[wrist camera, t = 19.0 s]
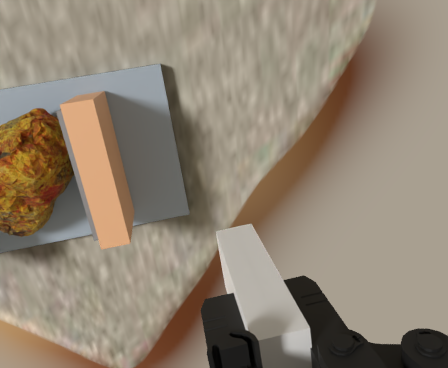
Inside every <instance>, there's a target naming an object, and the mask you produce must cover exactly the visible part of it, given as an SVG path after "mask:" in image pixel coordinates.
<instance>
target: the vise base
mask: <svg viewBox="0 0 448 368" xmlns="http://www.w3.org/2000/svg"><path fill="white" fill-rule="evenodd" d="M101 91H105V94H106V98H107V102H108V106H109V110H110V114H111V118H112V123H113V127H114V131H115V135H116V139H117V143H118V147H119V151H120V155H121V159H122V163H123V167H124V171H125V175H126V179H127V183H128V187H129V191H130V195H131V199H132V203H133V207H134V211H135V213H134V220H133V226H135V225H140V224H145V223H149V222H154V221H159V220H164V219H169V218H174V217H179V216H184V215H189V214H190V213H189V208H188V203H187V198H186V193H185V188H184V183H183V178H182V173H181V167H180V162H179V157H178V152H177V147H176V142H175V137H174V132H173V127H172V122H171V116H170V111H169V106H168V101H167V96H166V91H165V86H164V81H163V76H162V71H161V65H160V64H155V65H149V66H143V67H137V68H131V69H124V70H118V71H112V72H106V73H100V74H94V75H87V76H81V77H75V78H69V79H63V80H57V81H50V82H44V83H38V84H32V85H26V86H20V87H13V88H7V89H1V90H0V126H1V125H2V124H5V123H7V122H8V121H10V120H13V119H16V118H18V117H20V116H21V115H24V114H26V113H28V112H30V111H31V110H33V109H35V108H43V109H45V110H46V111H47V112H48V113H49V114H51V115H53V116H54V117H57V118H58V116H57V113H56V111H58V110H59V109H61V108H60V104H62V103H64V102H66V101H68V100H70V99H71V98H73V97H75V96H77V95H83V94H89V93H95V92H101ZM91 234H92V232H91V229H90V225H89V222H88V218H87V215H86V212H85V208H84V205H83V201H82V198H81V195H80V191H79V188H78V184H77V181H76V178H75V175H74V176H73V177H72V179H71V181H70V182H69V184H68V186H67V188H66V189H65V191H64V192H63V193H62V194H61V195H59V196H58V197H57V199H56V201H55V203H54V208H53V212H52V215H51V217H50V218H49V220H48V221H47V223H46V224H45V225H44V226H43V228H41V229H39V230H38V231H36V232H35V233H34V234H32V235H29V236H23V237H20V236H15V235H10V236H9V234H8V233H3V232H2V231H0V253H3V252H8V251H13V250H18V249H22V248H27V247H32V246H37V245H42V244H47V243H52V242H57V241H62V240H66V239H71V238H76V237H81V236H86V235H91Z"/></svg>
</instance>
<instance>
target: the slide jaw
mask: <svg viewBox="0 0 448 368" xmlns="http://www.w3.org/2000/svg"><path fill="white" fill-rule="evenodd" d="M60 108H61V109H59V110H58V111H56V113H57V116H58V120H59V123H60V126H61V130H62V133H63V137H64V140H65V143H66V147H67V150H68V154H69V157H70V161H71V164H72V167H73V171H74V174H75V178H76V181H77V184H78V188H79V191H80V195H81V198H82V201H83V205H84V208H85V212H86V215H87V218H88V222H89V225H90V229H91V232H92V236H93V239H94V241H96V240H99V243H100V247H101V249H106V248H111V247H115V246H120V245H125V244H130V242H131V235H132V227H133V220H134V213H135V211H134V207H133V203H132V199H131V195H130V191H129V187H128V183H127V179H126V175H125V171H124V167H123V163H122V159H121V155H120V151H119V147H118V143H117V139H116V135H115V131H114V127H113V123H112V118H111V114H110V110H109V106H108V102H107V98H106V94H105V91H101V92H95V93H89V94H83V95H77V96H75V97H73V98H71V99H70V100H68V101H66V102H64V103H62V104H60Z"/></svg>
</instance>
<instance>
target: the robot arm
mask: <svg viewBox="0 0 448 368" xmlns="http://www.w3.org/2000/svg"><path fill="white" fill-rule="evenodd" d="M216 236H217V241H218V247H219V253H220V258H221V264H222V270H223V276H224V281H225V287H226V291H227V294H226V295H222V296H217V297H213V298H209V299H205V301H204V303H203V306H202V308H201V314H202V320H203V326H204V332H205V337H206V343H207V356H208V361H209V365H210V368H448V336H447V335H445V334H443V333H441V332H439V331H435V330H431V329H414V330H411V331H408V332H407V333H406V334H405V335H403V338H402V341H401V344H375V343H370V342H368V341H367V340H366V339H365V338H364V337H363V336H362V335H361V334H359V333H357V332H355V331H352V330H349V329H348V328H347V326H346V325H345V324H344V322H343V321H342V319H341V318H340V316H339V315H338V314H337V312H336V311H335V309H334V308H333V306H332V305H331V304H330V302H329V301H328V299H327V298H326V297H325V295H324V294H323V293H322V291H321V290H320V288H319V286H318V285H317V284H316V282H314V281H313V280H311V279H309V278H308V277H306V276H300V277H296V278H291V279H287V280H283V279H282V277H281V276H280V274H279V272H278V270H277V268H276V267H275V265H274V263H273V261H272V260H271V258H270V256H269V254H268V253H267V251H266V249H265V247H264V245H263V244H262V242H261V240H260V238H259V237H258V235H257V233H256V231H255V230H254V228H253V226H252V224H248V225H243V226H238V227H234V228H229V229H224V230H219V231H216Z"/></svg>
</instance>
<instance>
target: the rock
mask: <svg viewBox="0 0 448 368" xmlns="http://www.w3.org/2000/svg"><path fill="white" fill-rule="evenodd" d="M74 175H75V174H74V171H73V167H72V164H71V161H70V157H69V154H68V150H67V147H66V143H65V140H64V137H63V133H62V130H61V126H60V123H59V120H58V118H57V117H54V116H53V115H51V114H49V113H48V112H47V111H46V110H45V109H43V108H35V109H33V110H31V111H30V112H28V113H26V114H24V115H21V116H20V117H18V118H16V119H13V120H10V121H8V122H7V123H5V124H2V125H1V126H0V231H2V232H3V233H8V234H9V236H10V235H15V236H20V237H23V236H29V235H32V234H34V233H35V232H36V231H38V230H39V229H41V228H43V226H44V225H45V224H46V223H47V221H48V220H49V218H50V217H51V215H52V212H53V208H54V203H55V201H56V199H57V197H58V196H59V195H61V194H62V193H63V192H64V191H65V189H66V188H67V186H68V184H69V182H70V181H71V179H72V177H73V176H74Z"/></svg>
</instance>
